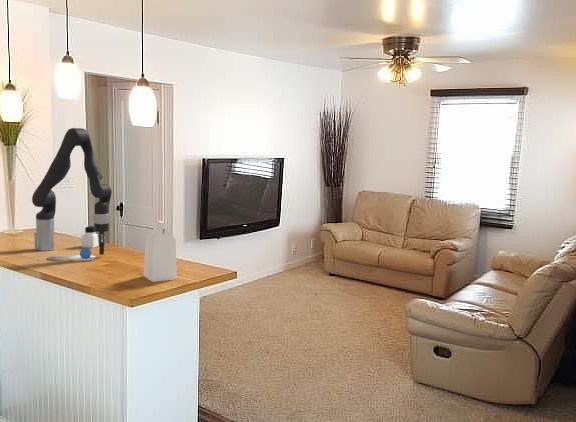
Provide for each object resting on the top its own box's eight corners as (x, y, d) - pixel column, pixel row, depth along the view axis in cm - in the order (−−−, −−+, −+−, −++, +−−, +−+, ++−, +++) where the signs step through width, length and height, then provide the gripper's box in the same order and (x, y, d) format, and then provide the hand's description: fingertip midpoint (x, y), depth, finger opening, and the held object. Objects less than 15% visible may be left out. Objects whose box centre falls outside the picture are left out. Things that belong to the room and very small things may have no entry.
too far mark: (42, 259, 282) (42, 259, 282) (53, 256, 292) (53, 255, 292) (60, 261, 281) (60, 260, 281) (71, 257, 291) (71, 257, 291)
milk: (177, 279, 252) (177, 222, 250) (152, 281, 246) (153, 223, 243) (167, 273, 262) (168, 219, 259) (143, 276, 256) (144, 220, 253)
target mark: (61, 259, 285) (61, 259, 285) (76, 254, 299) (76, 254, 299) (87, 261, 283) (87, 261, 283) (100, 256, 296) (100, 255, 296)
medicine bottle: (98, 246, 325) (98, 225, 324) (93, 248, 318) (93, 227, 317) (87, 245, 326) (87, 225, 325) (81, 247, 319) (81, 226, 318)
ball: (87, 244, 288) (95, 251, 291) (79, 247, 290) (87, 253, 294) (83, 252, 284) (91, 259, 287) (76, 255, 287) (83, 262, 290)
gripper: (93, 220, 297) (93, 252, 299) (94, 224, 285) (94, 257, 287) (108, 220, 300) (108, 251, 302) (109, 223, 287) (109, 256, 289)
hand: (101, 254), depth 294 cm, fingers closed
